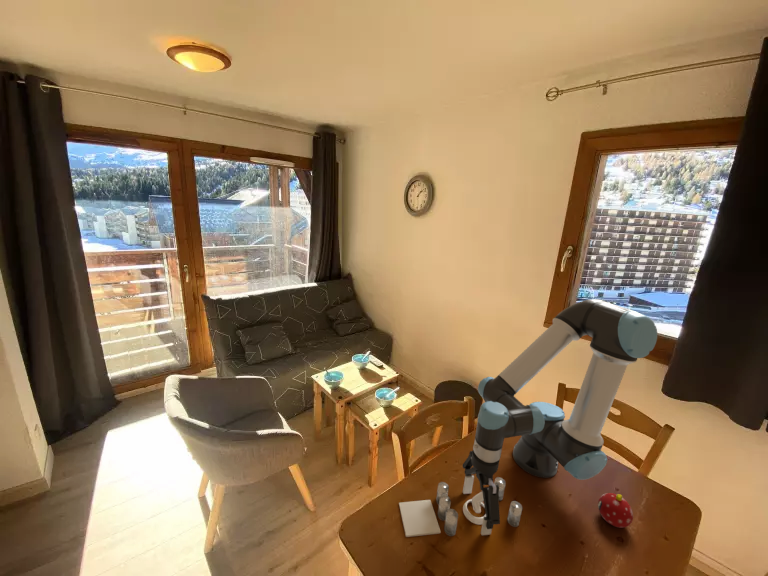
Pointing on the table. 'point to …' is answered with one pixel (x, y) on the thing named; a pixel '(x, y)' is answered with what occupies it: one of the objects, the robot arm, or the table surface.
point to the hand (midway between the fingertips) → (475, 511)
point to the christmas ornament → (615, 510)
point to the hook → (475, 509)
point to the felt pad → (419, 518)
